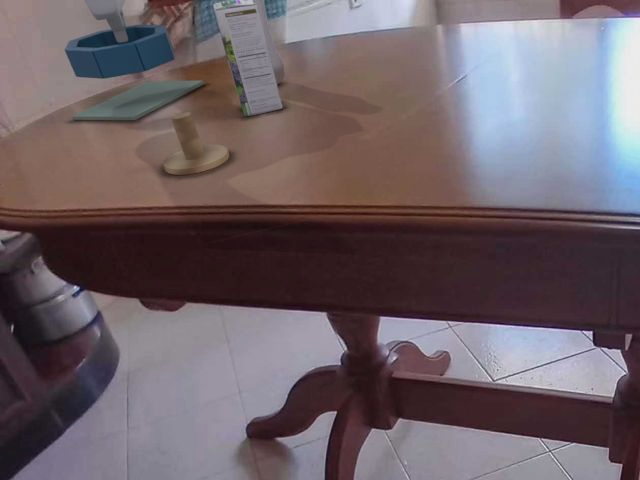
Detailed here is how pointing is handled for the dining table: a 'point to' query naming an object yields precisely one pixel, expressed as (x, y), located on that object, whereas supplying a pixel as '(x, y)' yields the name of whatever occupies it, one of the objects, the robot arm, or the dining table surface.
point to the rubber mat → (138, 100)
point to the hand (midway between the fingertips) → (124, 39)
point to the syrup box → (248, 56)
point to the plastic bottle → (270, 43)
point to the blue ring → (120, 52)
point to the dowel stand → (192, 149)
